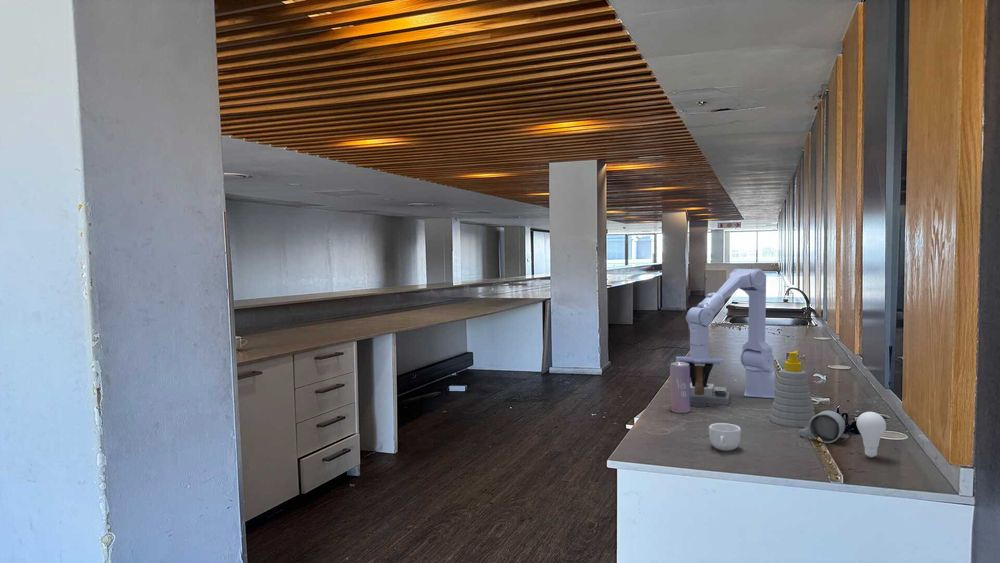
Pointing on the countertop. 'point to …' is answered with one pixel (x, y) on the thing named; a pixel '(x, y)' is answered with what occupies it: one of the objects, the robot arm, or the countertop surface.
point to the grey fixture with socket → (709, 396)
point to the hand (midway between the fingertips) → (699, 386)
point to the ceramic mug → (825, 426)
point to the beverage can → (680, 387)
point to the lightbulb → (871, 431)
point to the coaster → (699, 404)
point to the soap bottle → (792, 396)
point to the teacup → (724, 436)
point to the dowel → (699, 380)
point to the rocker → (720, 389)
